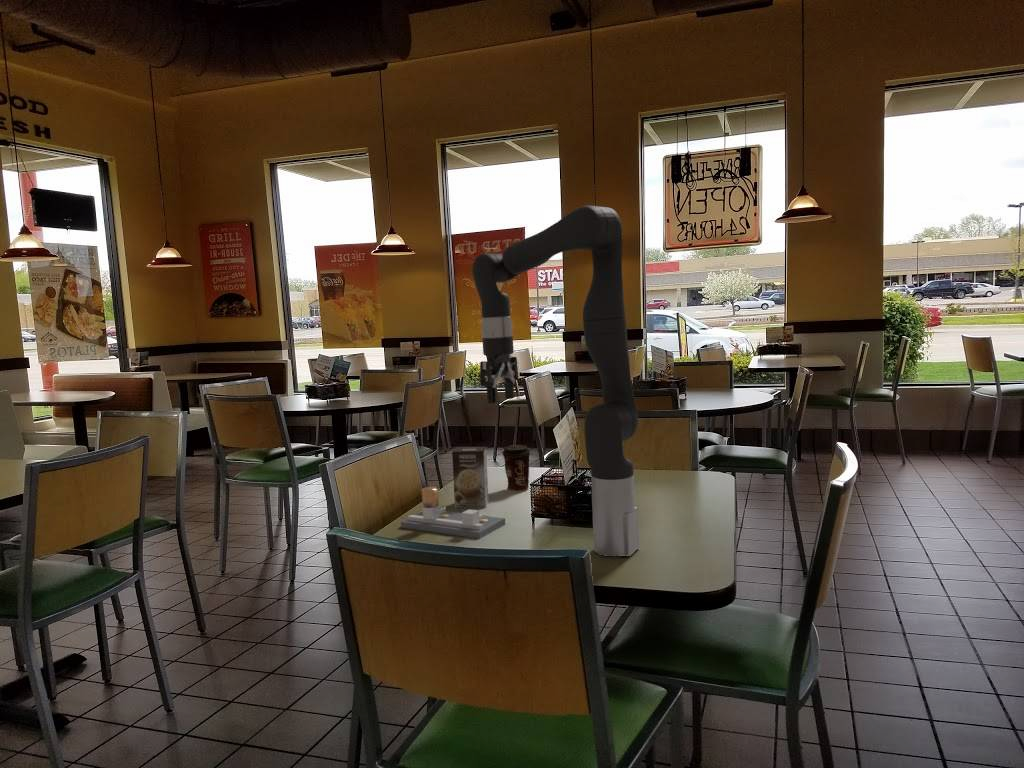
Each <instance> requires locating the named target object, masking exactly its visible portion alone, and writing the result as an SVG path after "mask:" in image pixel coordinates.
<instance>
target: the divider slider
mask: <svg viewBox="0 0 1024 768" xmlns="http://www.w3.org/2000/svg"><path fill="white" fill-rule="evenodd" d="M438 490H439V489H438V487H437V486H426V487H422V488H421V499H422V500H421V501H422V512H423V518H425V519H432V520H433V519H435V518H437V517H439V516H440V514H441V513H446V511H447V510H446V507H441V508H440V504H439V503H440V502H439V491H438Z"/></svg>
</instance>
